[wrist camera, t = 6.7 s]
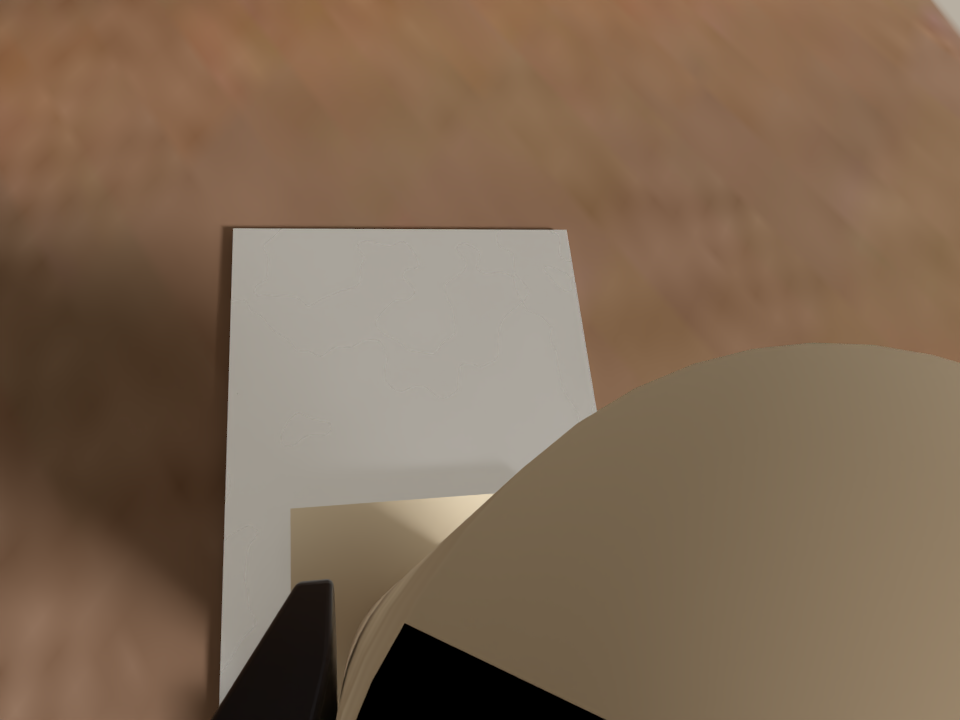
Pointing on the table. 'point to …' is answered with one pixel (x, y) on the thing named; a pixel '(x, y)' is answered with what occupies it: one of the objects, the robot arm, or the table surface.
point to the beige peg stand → (676, 558)
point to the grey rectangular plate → (384, 383)
